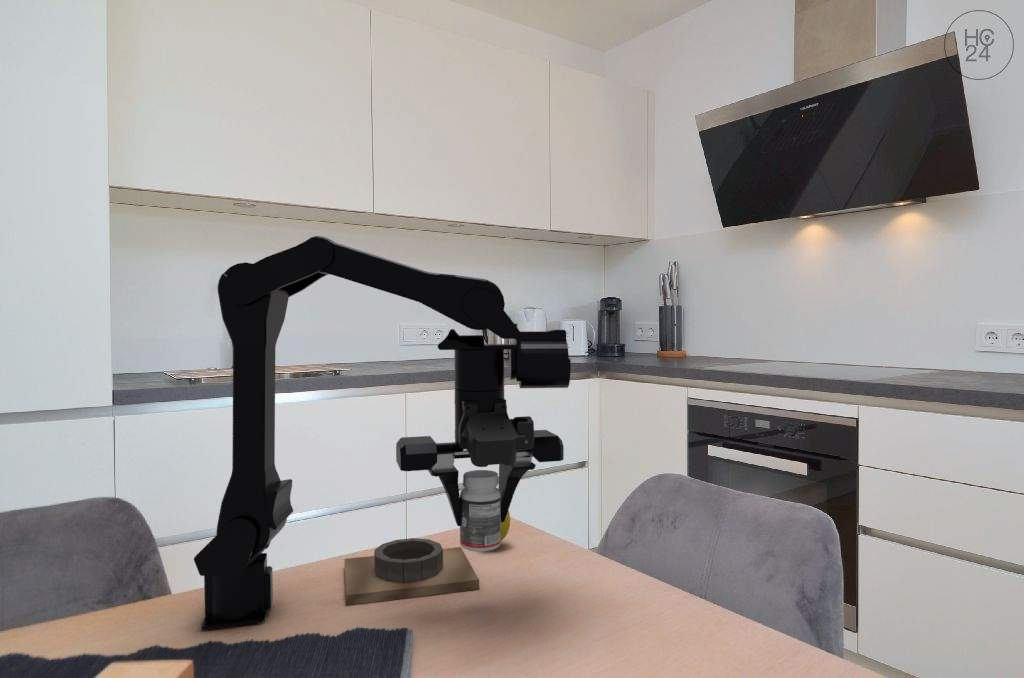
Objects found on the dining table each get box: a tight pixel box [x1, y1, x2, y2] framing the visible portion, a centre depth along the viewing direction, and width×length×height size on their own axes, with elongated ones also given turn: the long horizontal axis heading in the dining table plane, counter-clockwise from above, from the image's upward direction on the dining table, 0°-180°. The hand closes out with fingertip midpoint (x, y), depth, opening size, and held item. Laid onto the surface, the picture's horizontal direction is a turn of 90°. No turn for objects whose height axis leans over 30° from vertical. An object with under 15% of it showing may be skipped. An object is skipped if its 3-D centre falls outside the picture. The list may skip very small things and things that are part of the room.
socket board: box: [343, 537, 480, 606], centre depth 83 cm, size 16×12×4 cm
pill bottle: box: [459, 469, 502, 552], centre depth 74 cm, size 5×5×8 cm
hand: (480, 523), depth 74 cm, fingers closed on pill bottle, 5 cm apart
